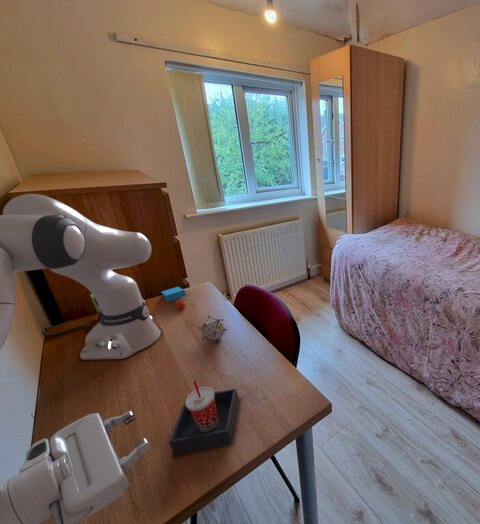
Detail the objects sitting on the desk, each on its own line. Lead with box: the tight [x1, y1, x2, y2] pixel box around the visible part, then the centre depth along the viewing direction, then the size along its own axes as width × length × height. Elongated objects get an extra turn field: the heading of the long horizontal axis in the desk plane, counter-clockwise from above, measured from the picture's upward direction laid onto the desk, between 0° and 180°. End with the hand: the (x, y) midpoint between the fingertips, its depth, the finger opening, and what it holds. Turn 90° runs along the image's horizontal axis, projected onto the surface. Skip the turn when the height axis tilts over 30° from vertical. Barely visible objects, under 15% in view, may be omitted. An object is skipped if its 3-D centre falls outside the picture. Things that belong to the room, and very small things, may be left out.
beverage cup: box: [184, 380, 219, 432], centre depth 67 cm, size 6×6×14 cm
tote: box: [168, 388, 240, 456], centre depth 70 cm, size 12×12×4 cm
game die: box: [197, 315, 228, 343], centre depth 99 cm, size 9×8×10 cm
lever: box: [160, 286, 187, 310], centre depth 123 cm, size 7×7×18 cm
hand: (140, 428), depth 58 cm, fingers open, 8 cm apart
